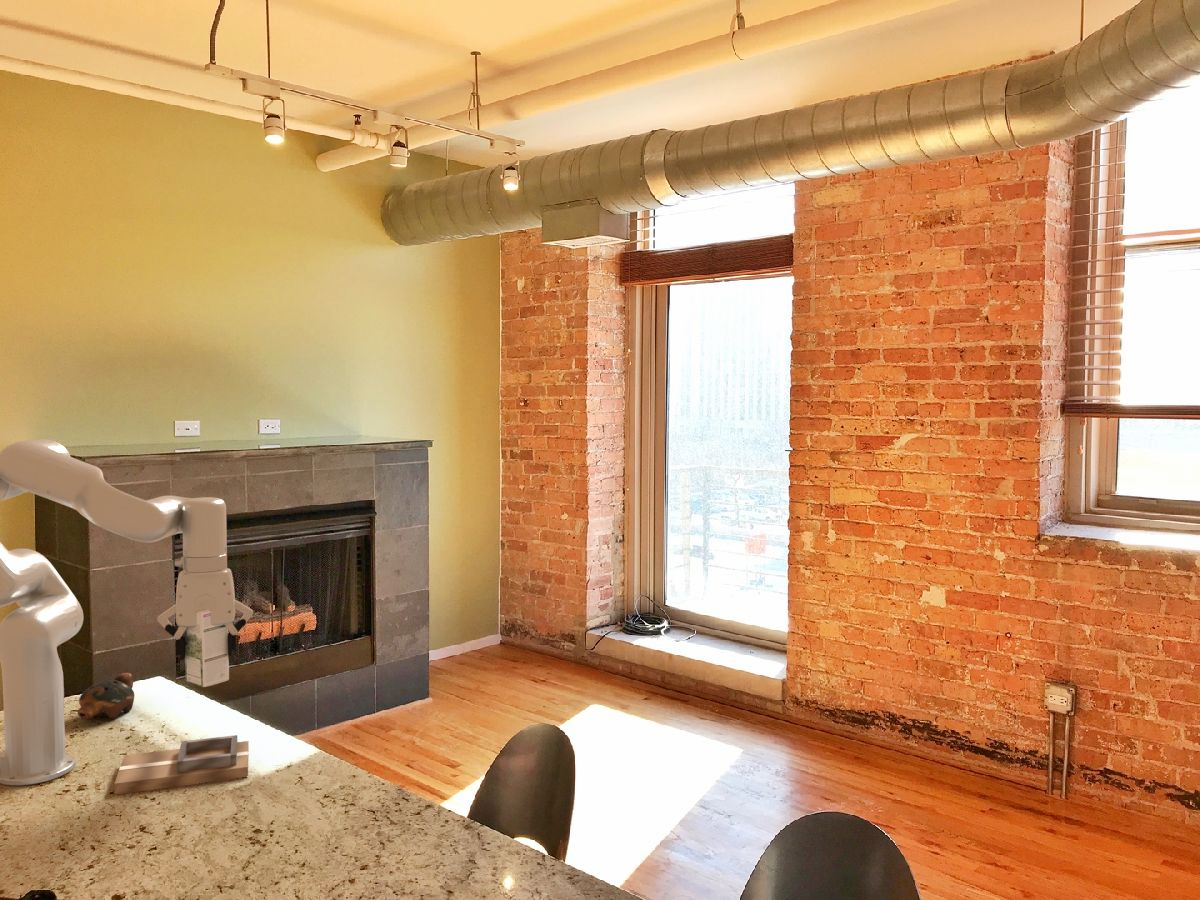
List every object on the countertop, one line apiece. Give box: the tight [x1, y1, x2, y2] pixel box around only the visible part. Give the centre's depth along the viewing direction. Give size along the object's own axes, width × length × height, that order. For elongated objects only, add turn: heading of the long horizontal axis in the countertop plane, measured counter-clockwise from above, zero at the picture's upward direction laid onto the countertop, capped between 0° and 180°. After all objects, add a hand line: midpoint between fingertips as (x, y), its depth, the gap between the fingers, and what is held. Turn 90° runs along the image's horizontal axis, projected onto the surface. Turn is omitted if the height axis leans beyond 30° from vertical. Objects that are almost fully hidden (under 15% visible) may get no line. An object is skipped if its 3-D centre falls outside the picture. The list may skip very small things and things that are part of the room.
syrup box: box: [184, 609, 230, 688], centre depth 169 cm, size 6×6×14 cm
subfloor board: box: [113, 735, 249, 795], centre depth 169 cm, size 22×13×4 cm, turn 111°
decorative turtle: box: [77, 672, 135, 721], centre depth 197 cm, size 10×15×8 cm, turn 175°
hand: (206, 655), depth 169 cm, fingers closed on syrup box, 7 cm apart
